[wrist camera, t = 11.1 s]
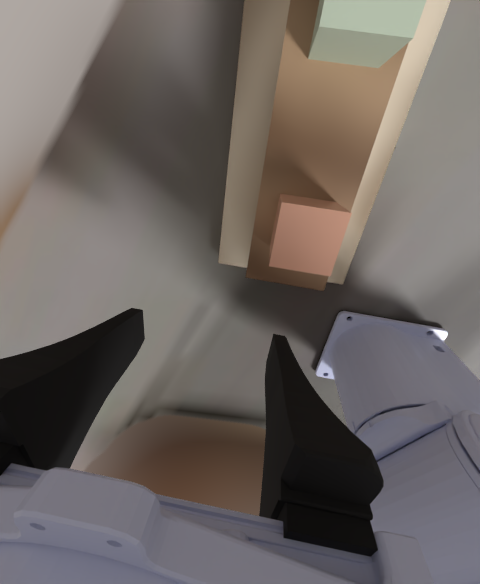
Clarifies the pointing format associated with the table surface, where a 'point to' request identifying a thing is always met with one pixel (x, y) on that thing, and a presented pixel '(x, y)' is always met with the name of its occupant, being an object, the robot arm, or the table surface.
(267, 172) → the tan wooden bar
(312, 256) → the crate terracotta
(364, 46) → the pale green cube
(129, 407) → the table surface
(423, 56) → the dock
